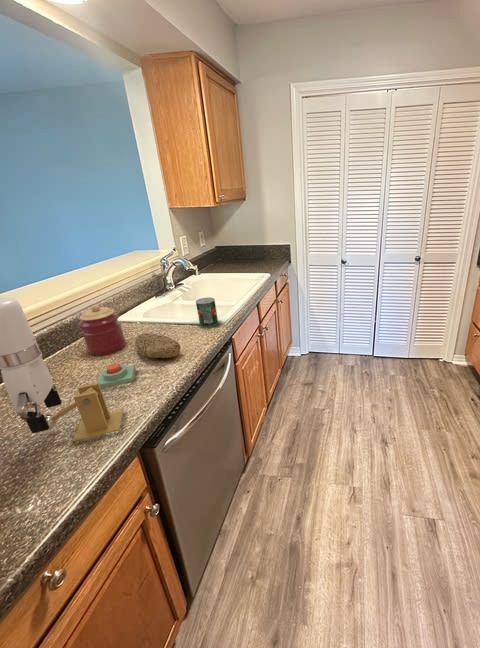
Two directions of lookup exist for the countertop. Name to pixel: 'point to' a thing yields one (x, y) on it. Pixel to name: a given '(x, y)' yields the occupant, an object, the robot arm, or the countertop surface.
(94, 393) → the bracket
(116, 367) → the button
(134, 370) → the switch block
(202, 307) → the canned tomato
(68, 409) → the tap lever
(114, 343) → the kitchen canister
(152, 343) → the speckled river stone
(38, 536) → the countertop surface
